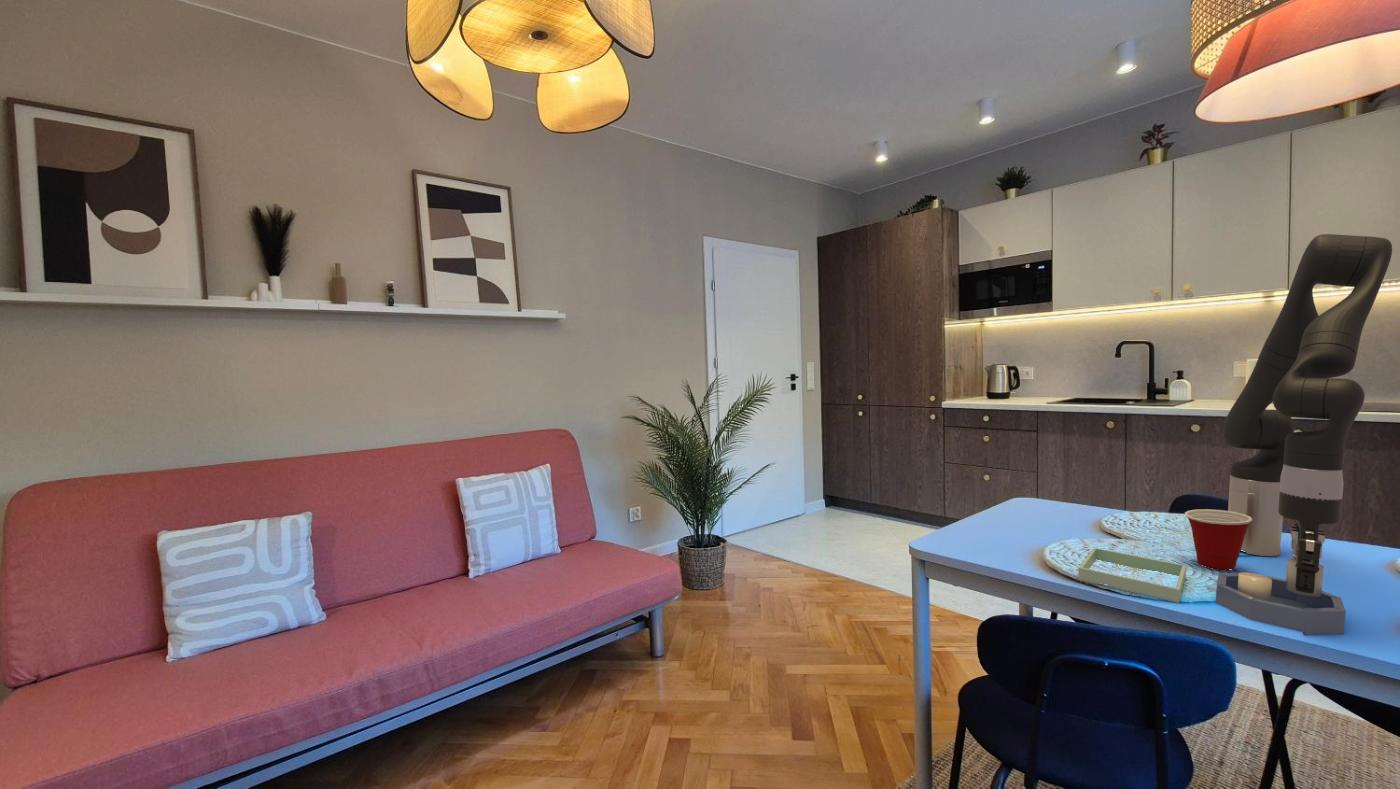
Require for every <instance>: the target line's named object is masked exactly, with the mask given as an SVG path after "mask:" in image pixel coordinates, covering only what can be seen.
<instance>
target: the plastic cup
mask: <svg viewBox="0 0 1400 789" xmlns="http://www.w3.org/2000/svg"><path fill="white" fill-rule="evenodd" d="M1184 514H1185V517H1186V518H1187V519H1188V521H1189V524H1190V528H1191V533H1192V539H1193V545H1194V549H1195V552H1196V553H1195V554H1196V560H1197V563H1199V564H1201V565H1203V566H1206V567H1209V568H1213V569H1219V570H1229V569H1234V568H1235V569H1236V565H1237V562H1238V559H1239V556H1240V554H1241V552H1240V551H1241V547H1242V544H1243V540H1244V537H1245V534H1246V531H1247V528H1248V525H1249V523H1250V522H1252V518H1251V517H1250V516H1247V515H1245V514H1241V513H1237V512H1231V511H1228V510H1223V509H1208V508H1205V509H1202V508H1201V509H1192V510H1187V511H1185V512H1184ZM1199 564H1198V565H1199ZM1201 565H1200V566H1201ZM1203 566H1202V567H1203ZM1206 567H1205V568H1206ZM1209 568H1208V569H1209ZM1213 569H1212V570H1213ZM1235 569H1234V570H1235ZM1219 570H1218V571H1219Z"/></svg>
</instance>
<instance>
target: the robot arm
mask: <svg viewBox="0 0 1400 789" xmlns="http://www.w3.org/2000/svg"><path fill="white" fill-rule="evenodd" d="M1392 255H1393V245H1392V242H1391V240H1390V239H1387V238H1384V237H1379V236H1370V235H1369V236H1367V235H1365V236H1364V235H1349V234H1337V233H1336V234H1333V233H1330V234H1329V233H1325V234H1322V233H1321V234H1319V235H1316V236H1314V238H1312V240H1310V241H1309V243H1308V245H1307V247H1306V248H1305V250H1304V252H1303V254H1302V256H1301V259H1300V261H1299V263H1298V266H1297V268H1296V272H1295V274H1294V277H1293V280H1292V283H1291V285H1290V288H1289V289H1288V290H1289V291H1288V293H1287V295H1286V298H1285V301H1284V304H1283V305H1282V308H1281V310H1280V313H1279V314H1278V316H1277V318H1276V320H1275V323H1274V324H1273V326H1272V328H1271V331H1270V333H1269V334H1268V336H1267V338H1266V340H1265V342H1264V344H1263V346H1262V348H1261V350H1260V352H1259V356H1258V358H1257V360H1256V363H1255V365H1254V368H1253V370H1252V372H1251V374H1250V376H1249V378H1248V379H1247V382H1246V383H1245V385H1244V388H1243V389H1242V391H1241V393H1240V394H1239V395H1238V397H1237V399H1236V400H1235V402H1234V404H1233V405H1232V407H1231V409H1230V410H1229V412H1228V414H1227V415H1226V418H1225V420H1224V424H1223V427H1222V435H1223V439H1224V441H1225V443H1227V444H1228V445H1229V446H1230V447H1232V448H1236V449H1246V450H1251V449H1252V450H1259V451H1258V452H1257V454H1255V455H1253V456H1251V457H1249V458H1246V459H1243V460H1239V461H1235V462H1233V463H1232V464H1231V467H1230V472H1229V473H1230V474H1229V489H1228V490H1229V492H1228V505H1227V506H1228V508H1227V511H1231V512H1237V513H1241V514H1245V515H1247V516H1250V517H1251V518H1252V522H1250V523H1249V525H1248V528H1247V531H1246V534H1245V537H1244V540H1243V544H1242V547H1241V550H1243V551H1245V552H1246V553H1245V554H1247V555H1248V554H1249V555H1254V556H1255V555H1256V556H1262V557H1278V556H1280V554H1281V547H1282V546H1281V544H1282V533H1283V522H1284V521H1283V520H1284V519H1283V518H1286V519H1289V520H1293V521H1295V520H1296V521H1295V522H1294V523H1293V524H1292V525H1291V526H1290V535H1291V537H1290V538H1291V542H1290V543H1291V544H1290V546H1291V549H1292V555H1293V556H1292V559H1296V564H1295V567H1296V570H1297V571H1296V585H1295V588H1296V590H1297V591H1300V592H1305V593H1314V585H1315V573H1317V572H1318V571H1319V568H1318V567H1319V564H1320V560H1321V559H1322V557H1323V544H1324V543H1325V540H1326V539H1325V538H1326V533H1324V529H1320V525H1323V524H1324V525H1336V524H1339V523H1340V522H1341V519H1342V511H1343V510H1342V508H1343V494H1344V478H1343V475H1344V474H1343V462H1344V452H1345V446H1346V441H1347V438H1348V435H1349V432H1350V430H1351V427H1352V426H1353V423H1354V422H1355V420H1356V418H1357V417H1358V414H1359V413H1360V411H1361V410H1362V407H1363V405H1364V402H1365V397H1366V395H1365V391H1364V388H1363V387H1362V386H1361V385H1360V384H1359V383H1358V382H1357V381H1355V380H1353V379H1351V378H1339V377H1343V376H1345V375H1346V374H1348V373H1350V372H1352V371H1353V369H1354V367H1355V365H1356V360H1357V357H1358V352H1359V351H1358V350H1359V345H1360V340H1361V336H1362V333H1363V329H1364V327H1365V323H1366V321H1367V319H1368V317H1369V315H1370V313H1371V310H1372V308H1373V306H1374V303H1375V300H1376V299H1377V296H1378V293H1379V291H1380V289H1381V286H1382V284H1383V281H1384V279H1385V276H1386V273H1387V271H1388V269H1389V266H1390V263H1391V259H1392ZM1318 284H1319V285H1325V286H1326V285H1327V286H1339V287H1346V288H1347V287H1349V288H1352V291H1351V292H1350V293H1349V294H1348V295H1347V296H1346V297H1345V298H1343V299H1342V300H1340V302H1339V301H1338V303H1336V304H1334V305H1333V306H1332V307H1330V308H1328V309H1327V310H1325V311H1324V312H1322V313H1320V315H1319V313H1318V311H1317V308H1316V304H1315V300H1314V295H1313V293H1314V292H1313V291H1314V290H1313V289H1314V287H1315V286H1316V285H1318ZM1271 404H1273V407H1274V409H1267V408H1268V407H1269V406H1270V405H1271ZM1293 418H1299V419H1300V418H1301V419H1316V420H1317V419H1318V420H1329V422H1328V424H1327V425H1326V427H1324V428H1322V429H1317V430H1307V431H1305V430H1304V431H1303V430H1302V431H1295V426H1294V421H1293ZM1302 560H1305V561H1310V562H1313V564H1307V563H1302Z"/></svg>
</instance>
